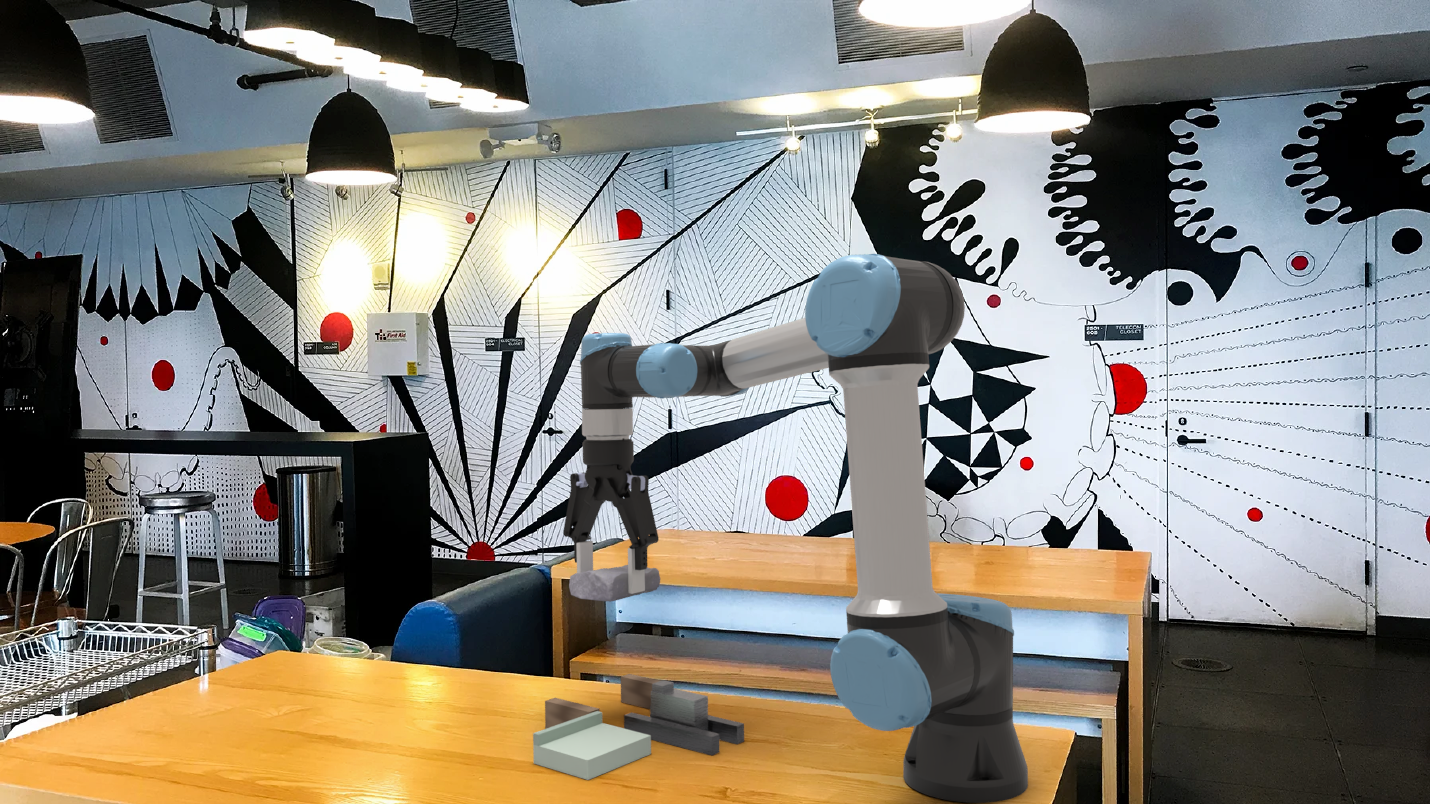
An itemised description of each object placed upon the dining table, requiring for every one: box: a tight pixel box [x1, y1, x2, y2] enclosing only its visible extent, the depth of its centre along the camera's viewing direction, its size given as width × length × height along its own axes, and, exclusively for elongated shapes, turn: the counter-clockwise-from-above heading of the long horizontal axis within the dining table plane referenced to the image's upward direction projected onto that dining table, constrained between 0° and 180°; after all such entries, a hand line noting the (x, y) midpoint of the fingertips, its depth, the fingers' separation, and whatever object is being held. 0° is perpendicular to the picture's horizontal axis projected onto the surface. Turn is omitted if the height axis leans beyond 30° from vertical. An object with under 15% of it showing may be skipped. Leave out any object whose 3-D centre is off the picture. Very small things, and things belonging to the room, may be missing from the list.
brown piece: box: [544, 673, 661, 729], centre depth 164 cm, size 9×18×4 cm, turn 142°
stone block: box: [568, 564, 661, 603], centre depth 163 cm, size 12×5×10 cm
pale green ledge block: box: [532, 711, 652, 781], centre depth 146 cm, size 10×12×4 cm
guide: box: [623, 706, 745, 756], centre depth 155 cm, size 16×7×2 cm, turn 52°
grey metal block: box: [651, 679, 709, 731], centre depth 155 cm, size 8×3×7 cm, turn 52°
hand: (610, 588), depth 163 cm, fingers closed on stone block, 10 cm apart
